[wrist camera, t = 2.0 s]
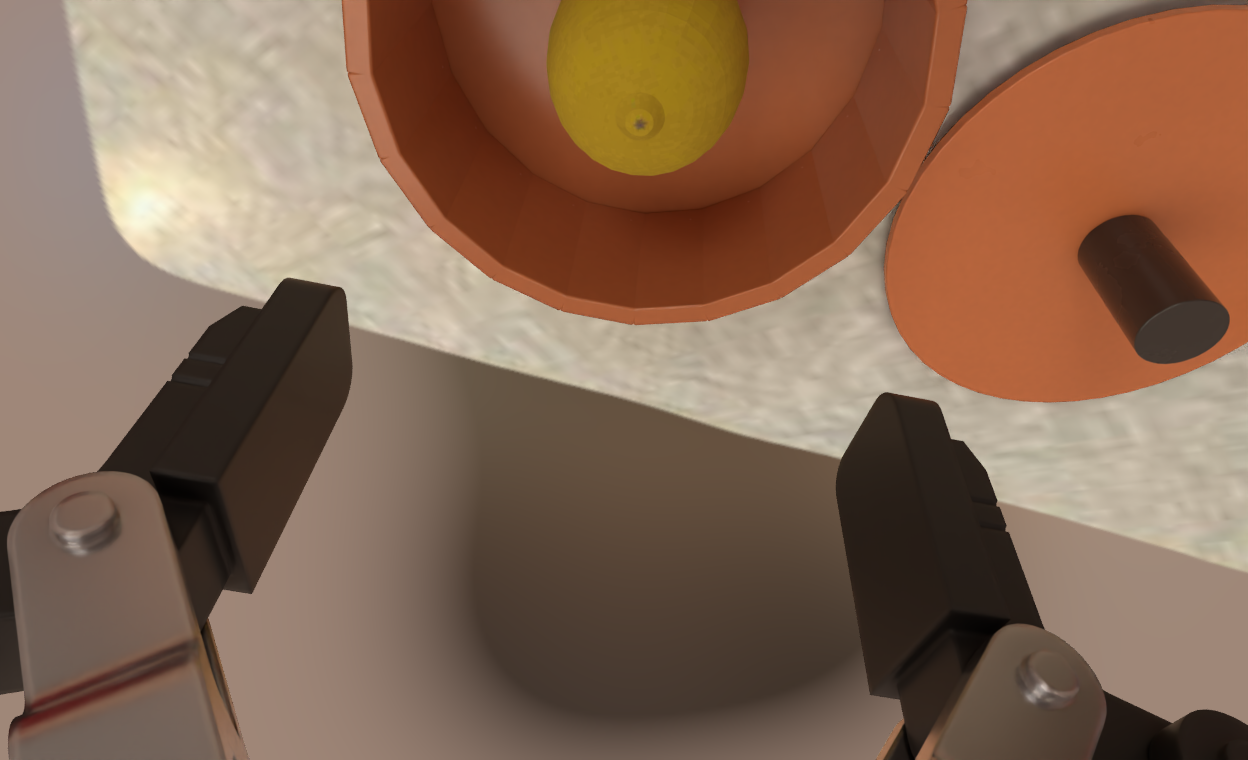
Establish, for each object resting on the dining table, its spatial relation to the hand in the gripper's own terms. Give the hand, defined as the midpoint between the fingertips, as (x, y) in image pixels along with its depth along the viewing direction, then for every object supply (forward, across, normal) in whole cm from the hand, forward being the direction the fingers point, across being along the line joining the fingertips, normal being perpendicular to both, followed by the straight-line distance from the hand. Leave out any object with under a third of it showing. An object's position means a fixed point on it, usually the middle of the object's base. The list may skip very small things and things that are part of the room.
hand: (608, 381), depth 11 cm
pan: (+17, 0, 0) cm, 17 cm away
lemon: (+17, 0, 0) cm, 17 cm away
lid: (+17, -18, +4) cm, 25 cm away
